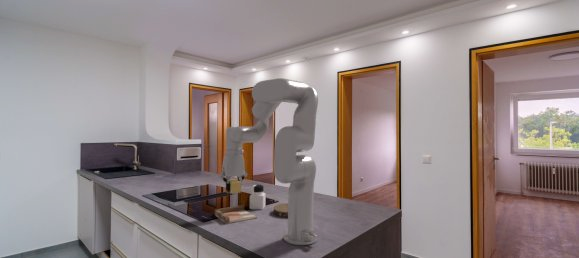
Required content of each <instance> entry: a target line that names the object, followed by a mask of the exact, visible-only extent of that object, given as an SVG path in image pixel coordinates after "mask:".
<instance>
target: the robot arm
mask: <svg viewBox="0 0 579 258" xmlns="http://www.w3.org/2000/svg"><path fill="white" fill-rule="evenodd" d="M251 98H252V99H253V101H255V103H254V105H252V108H251V112H252V114H253V116H254V117H255V118H256V120H258V121H257V122H256V124H255V125H254V126H246V125H245V126H244V125H243V126H241V125H240V126H229V127H227V128H226V131H225V132H226V133H225V138H226V139H225V155H224V156H223V161H222V168H221V172H220V174H219V175H218V178H219V179H221V180H223V182H224V183H225V190H226V192H228V193H230V180H231V178H234V177H236V178H237V179H236V180H238V181H240V182H241V183H242V182H243V180H245V178H246V177H247V176H248V174H249V173H247V171H246V170H245V169H246V168H245V167H246V166H245V157H244V155H243V153H244V154H245V149H243V144H246V143H257V142H259V141H260V140H262V138H263V137H265V135H266V133H267V132H268V130H269V127H270V126H269V124H270V120H269V119H270V118H271V116H272V115H273V114H274V112H275V111H276V109H278V107H279V106H280V105H281V103H288V104H289V103H290V104H296V105H297V106H296V108H295V110H294V111H293V118H292V120H293V121H292V125H291V126H289V125H288V126H284V127H282V128H280V129H279V130H278V132H277V134H276V137H275V139H274V151H273V152H274V153H273V175H274V177H275V179H276V181H277V182H279V183H281V184H289V186H288V193H287V194H288V197H287V203H288V218H287V232H285V233H284V235H283V239H284V241H285V242H286V243H287V244H290V245H295V246H308V245H309V246H310V245H312V244H314V243H316V242H317V241H318V239H319V236H318V235H317V234H316V233H315V228H314V192H315V191H314V186H315V179H316V176H317V175H316V174H317V165H316V162H315V160H314V159H313V158H312V157H311V156H309V155H306V154H298V155H297V153H303V152H308V151H311V150H312V149H313V148H314V144H315V135H316V125H317V124H316V122H317V120H316V119H317V113H318V106H319V96H318V92H317V91H316V90H315V88H314V87H312V86H311V85H310V84H309V83H305V82H302V81H298V80H292V79H288V78H274V79H273V78H271V79H265V80H261V81H258V82H257V83H255V85H253V88H252V90H251Z"/></svg>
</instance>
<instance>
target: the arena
mask: <svg viewBox="0 0 579 258" xmlns="http://www.w3.org/2000/svg"><path fill="white" fill-rule="evenodd" d="M213 211H214V213H213V214H214V215H215V217H217V218H218V219H219V220H220V221H222V222H223V223H225V224H226V225H228V224H234V223H239V222H243V221H244V222H245V221H248V220H249V221H250V220H254V219H258V217H257V216H256V215H254V214H253V213H250V212H249V211H247V210H245V205H243V204H242V205H235V206H229V207H223V208H216V209H214V210H213Z"/></svg>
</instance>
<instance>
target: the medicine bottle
mask: <svg viewBox="0 0 579 258" xmlns="http://www.w3.org/2000/svg"><path fill="white" fill-rule="evenodd" d="M264 188H265V187H264V185H263V184H254V185H252V186H251V194H250V195H249V209H250V210H264V208H265V207H266V192H264Z"/></svg>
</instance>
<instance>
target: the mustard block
mask: <svg viewBox="0 0 579 258" xmlns="http://www.w3.org/2000/svg"><path fill="white" fill-rule="evenodd" d="M229 193H230V194H239V193H240V194H241V193H242V182H240V181H238V179H234V178H233V179H230V192H229Z"/></svg>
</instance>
